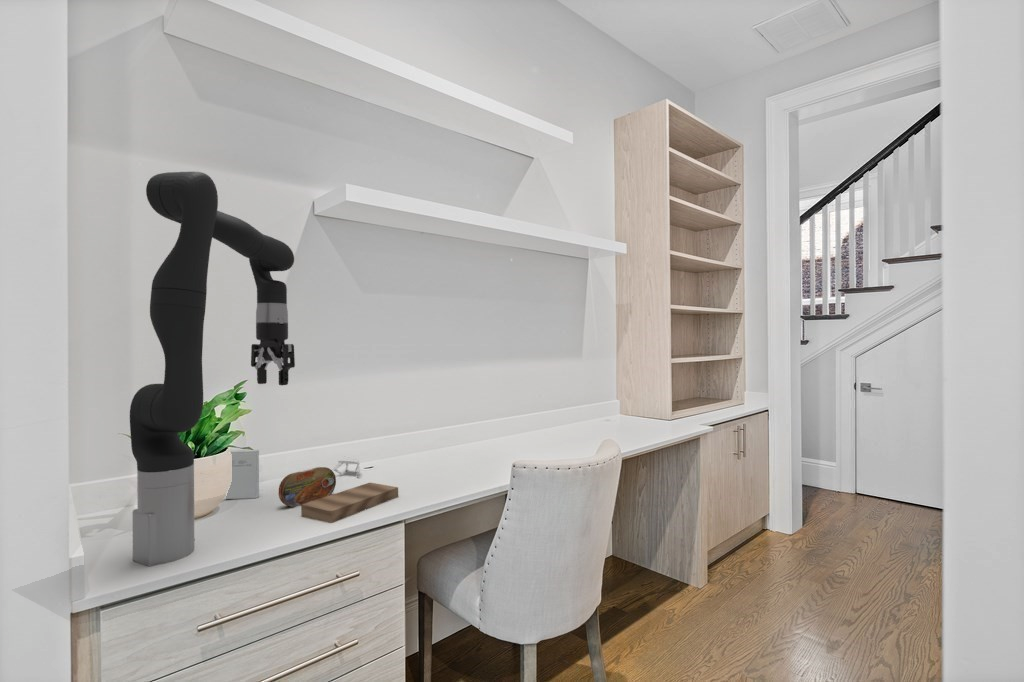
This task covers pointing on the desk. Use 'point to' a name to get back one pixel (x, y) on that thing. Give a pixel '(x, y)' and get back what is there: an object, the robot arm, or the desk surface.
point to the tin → (307, 486)
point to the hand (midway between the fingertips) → (272, 384)
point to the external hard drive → (244, 475)
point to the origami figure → (348, 461)
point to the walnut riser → (348, 502)
